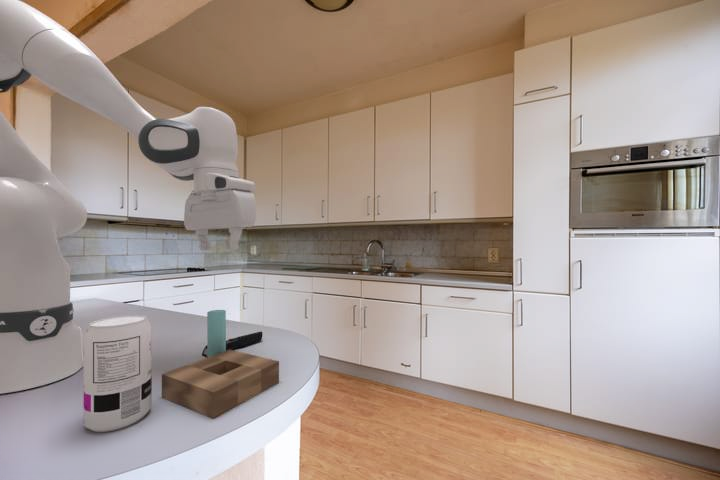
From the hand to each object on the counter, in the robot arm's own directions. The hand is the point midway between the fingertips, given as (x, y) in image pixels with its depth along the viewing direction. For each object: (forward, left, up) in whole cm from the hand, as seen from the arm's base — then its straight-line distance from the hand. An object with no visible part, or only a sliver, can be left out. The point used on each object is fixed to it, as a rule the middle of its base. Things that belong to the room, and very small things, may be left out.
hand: (218, 249), depth 67 cm
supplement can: (+4, -20, -26) cm, 33 cm away
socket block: (+10, -6, -25) cm, 28 cm away
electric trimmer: (-8, +10, -26) cm, 29 cm away
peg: (0, 0, -25) cm, 25 cm away
